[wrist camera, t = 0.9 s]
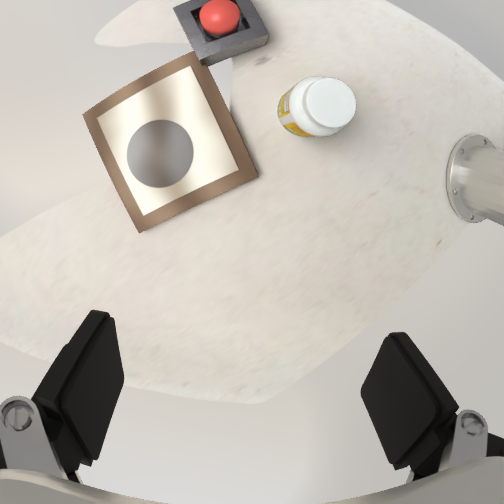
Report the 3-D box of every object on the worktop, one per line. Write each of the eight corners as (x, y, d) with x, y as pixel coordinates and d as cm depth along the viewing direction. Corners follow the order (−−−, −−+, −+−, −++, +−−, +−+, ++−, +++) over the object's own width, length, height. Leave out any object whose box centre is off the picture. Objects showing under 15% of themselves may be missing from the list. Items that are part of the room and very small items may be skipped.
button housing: (238, -3, 22) (239, -17, 19) (265, 45, 25) (269, 34, 21) (178, 20, 23) (172, 7, 20) (202, 68, 25) (199, 60, 22)
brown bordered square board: (199, 52, 25) (198, 47, 23) (257, 175, 30) (258, 177, 29) (87, 115, 26) (81, 114, 24) (142, 230, 31) (138, 234, 30)
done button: (230, 4, 21) (230, -6, 19) (244, 30, 22) (245, 21, 20) (196, 17, 21) (193, 7, 19) (210, 43, 22) (208, 34, 20)
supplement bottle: (268, 99, 27) (283, 81, 18) (313, 81, 26) (346, 60, 18) (290, 145, 29) (315, 146, 20) (334, 126, 28) (374, 122, 19)
